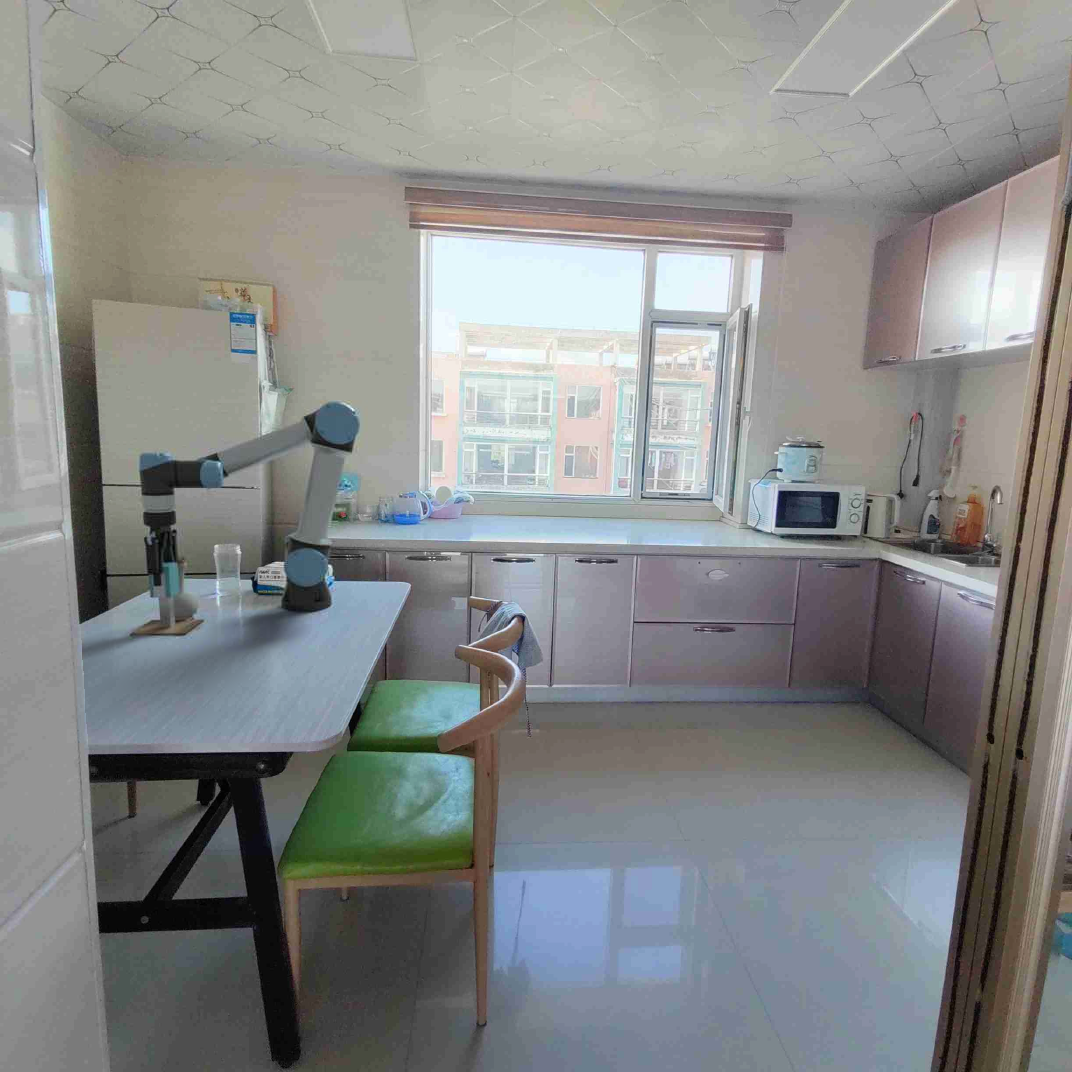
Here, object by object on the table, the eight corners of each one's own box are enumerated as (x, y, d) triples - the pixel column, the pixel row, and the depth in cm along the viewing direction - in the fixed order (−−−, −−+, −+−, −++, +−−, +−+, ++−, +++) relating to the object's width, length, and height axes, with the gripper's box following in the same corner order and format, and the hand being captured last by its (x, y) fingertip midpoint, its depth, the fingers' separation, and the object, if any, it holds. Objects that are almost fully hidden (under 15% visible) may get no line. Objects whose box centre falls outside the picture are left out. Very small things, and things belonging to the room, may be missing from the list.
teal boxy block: (179, 592, 172) (177, 562, 170) (170, 597, 167) (168, 566, 165) (159, 592, 171) (157, 562, 170) (150, 597, 166) (148, 566, 165)
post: (175, 624, 172) (172, 593, 170) (170, 627, 169) (168, 596, 168) (165, 624, 172) (162, 593, 170) (160, 627, 169) (158, 596, 167)
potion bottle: (204, 615, 183) (203, 555, 182) (185, 621, 174) (183, 558, 173) (176, 614, 184) (175, 554, 182) (156, 620, 175) (154, 557, 173)
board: (203, 621, 177) (203, 619, 177) (185, 635, 166) (185, 633, 165) (152, 621, 176) (151, 619, 175) (129, 635, 164) (129, 633, 164)
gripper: (160, 505, 173) (166, 585, 177) (126, 514, 156) (133, 603, 159) (188, 506, 174) (193, 585, 178) (157, 515, 156) (164, 603, 160)
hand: (165, 593), depth 169 cm, fingers closed on teal boxy block, 5 cm apart
